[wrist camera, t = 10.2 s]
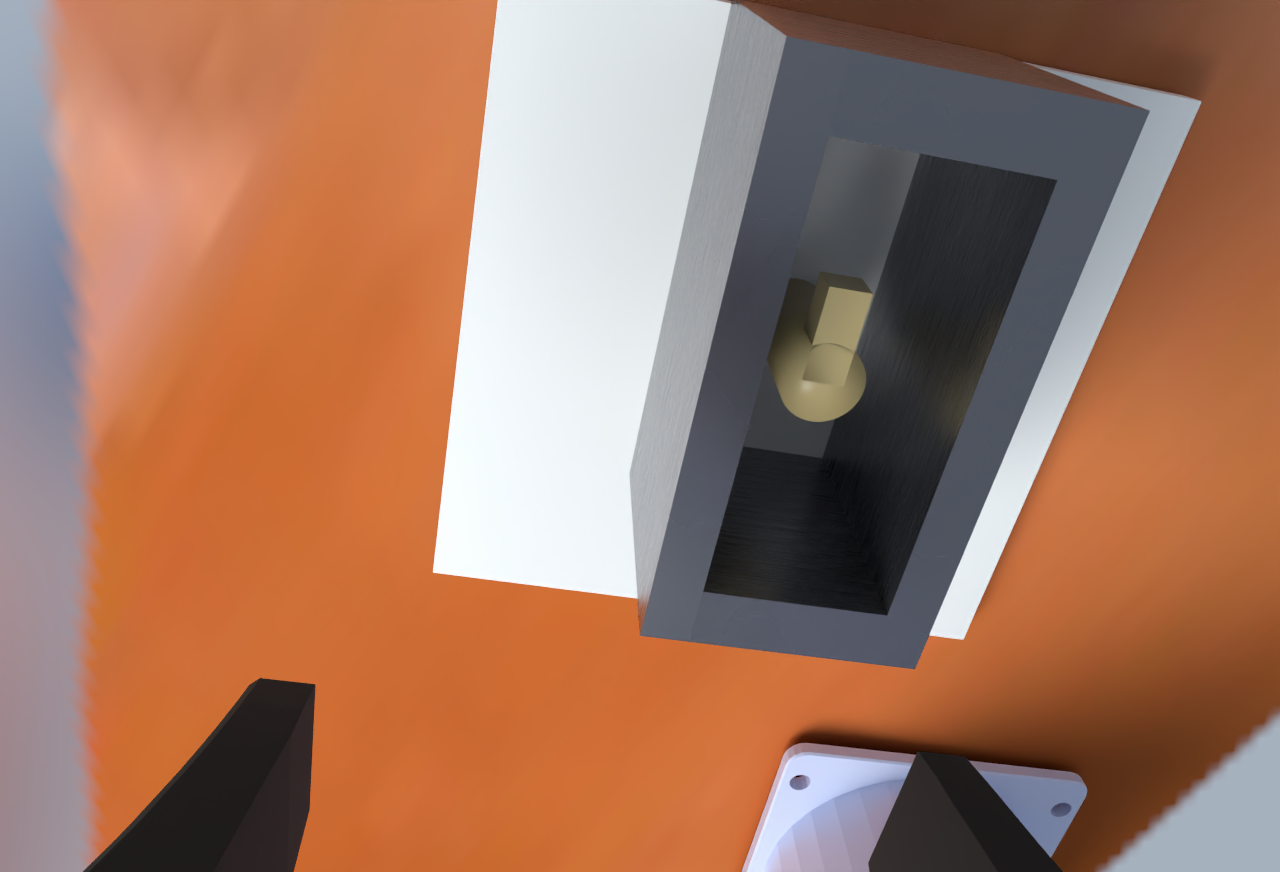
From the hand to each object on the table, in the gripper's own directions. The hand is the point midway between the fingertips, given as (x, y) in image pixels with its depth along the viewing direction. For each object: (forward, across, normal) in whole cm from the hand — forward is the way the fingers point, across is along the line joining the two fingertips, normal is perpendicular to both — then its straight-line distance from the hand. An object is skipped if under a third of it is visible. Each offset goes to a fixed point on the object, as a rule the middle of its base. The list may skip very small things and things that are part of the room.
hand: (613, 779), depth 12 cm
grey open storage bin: (+9, -3, -4) cm, 10 cm away
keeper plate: (+9, -3, -2) cm, 10 cm away
